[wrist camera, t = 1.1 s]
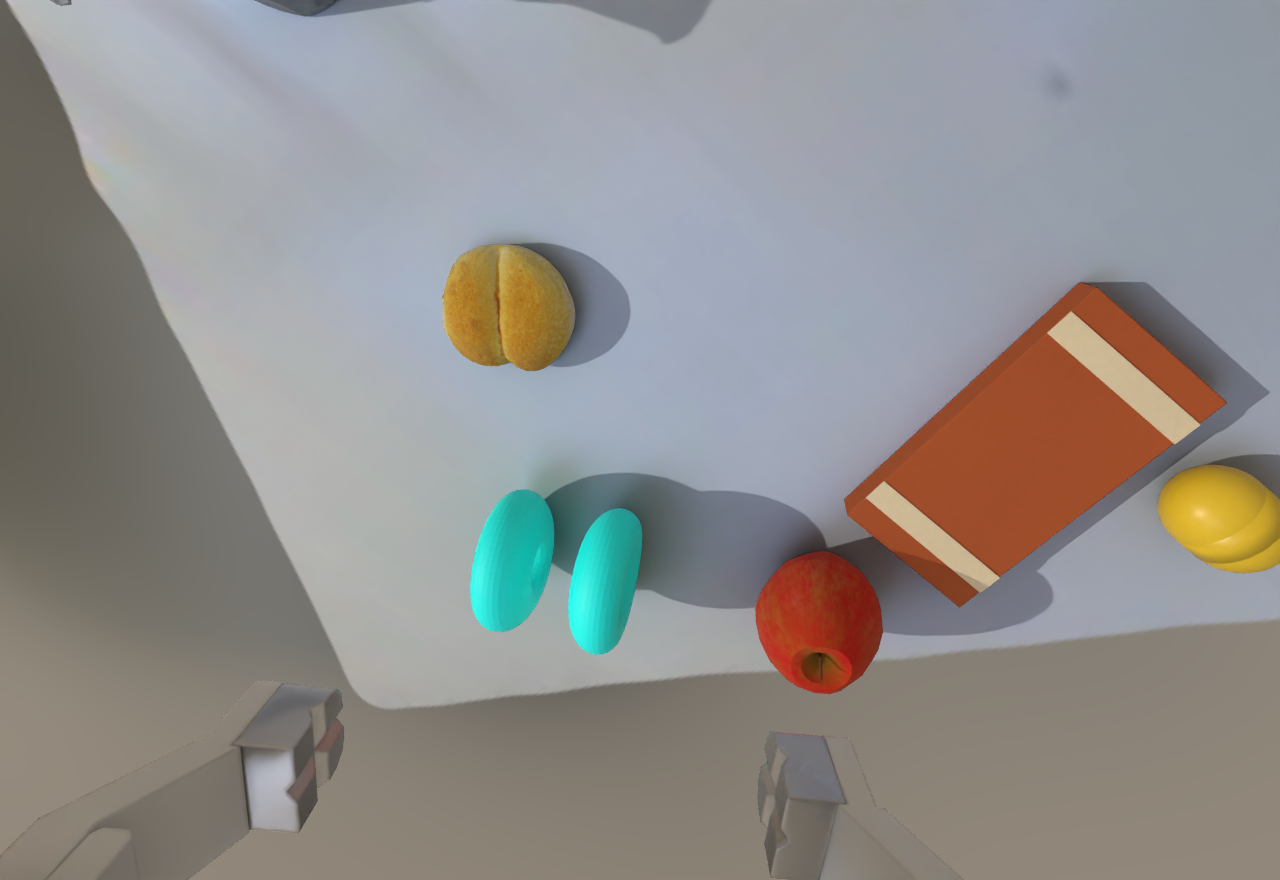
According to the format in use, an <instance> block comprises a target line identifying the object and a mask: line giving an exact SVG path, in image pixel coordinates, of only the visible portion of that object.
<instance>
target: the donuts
mask: <svg viewBox="0 0 1280 880" xmlns="http://www.w3.org/2000/svg"><path fill="white" fill-rule="evenodd" d="M553 550H554V522H553V518H552V514H551V511H550V509H549V507H548V505H547V503H546V502H545V500H544V499H543V498H542V497H541V496H540V495H538V494H537V493H535V492H533V491H530V490H517V491H514V492H511V493H509V494H508V495H506V496H505V497H503V498H502V499H501V500H500V501H499V502H498V504H497V505H496V506H495V508H494V509H493V510H492V512H491V514H490V516H489V517H488V519H487V521H486V524H485V526H484V528H483V530H482V533H481V536H480V539H479V542H478V545H477V548H476V552H475V556H474V561H473V566H472V573H471V584H470V594H471V604H472V609H473V612H474V614H475V616H476V618H477V620H478V621H479V623H480V624H481V625H482V626H484V627H485V628H487V629H489V630H491V631H495V632H504V631H509V630H511V629H513V628H515V627H517V626H518V625H520V624H521V623H522V622H524V621H525V620H526V619H527V617H528V616H529V615H530V614H531V613H532V611H533V610H534V608H535V607H536V605H537V603H538V601H539V599H540V597H541V595H542V592H543V590H544V587H545V585H546V582H547V578H548V575H549V571H550V567H551V562H552V557H553ZM641 552H642V527H641V524H640V521H639V519H638V518H637V517H636V515H635V514H633V513H632V512H631V511H629V510H627V509H622V508H616V509H612V510H609V511H607V512H605V513H603V514H602V515H601V516H599V517H598V518H597V519H596V520H595V522H594V523H593V524H592V525H591V527H590V528H589V530H588V531H587V533H586V535H585V537H584V539H583V542H582V544H581V547H580V549H579V552H578V556H577V559H576V562H575V566H574V570H573V575H572V580H571V586H570V593H569V605H568V613H569V623H570V628H571V631H572V634H573V637H574V638H575V640H576V642H577V643H578V645H579V646H580V647H581V648H582V649H583V650H585V651H586V652H588V653H591V654H596V655H598V654H604V653H607V652H609V651H610V650H612V649H613V648H614V647H615V646H616V645H617V644H618V642H619V640H620V639H621V636H622V634H623V632H624V629H625V626H626V623H627V620H628V616H629V613H630V609H631V606H632V601H633V597H634V593H635V588H636V583H637V578H638V572H639V566H640V560H641Z"/></svg>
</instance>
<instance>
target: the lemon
mask: <svg viewBox="0 0 1280 880" xmlns="http://www.w3.org/2000/svg"><path fill="white" fill-rule="evenodd" d="M1158 513H1159V517H1160V520H1161V522H1162V524H1163V526H1164V527H1165V529H1166V530H1167V531H1168V532H1169V533H1170V534H1171V535H1172V537H1173V538H1175V539H1176V540H1177V541H1178V542H1179V543H1180V544H1182V545H1183V546H1184V547H1185V548H1186V549H1187V550H1189V551H1190V552H1191V553H1192V554H1193V555H1194V556H1196V557H1197V558H1198V559H1200V560H1201V561H1203V562H1204V563H1206V564H1208V565H1210V566H1212V567H1215V568H1217V569H1220V570H1224V571H1229V572H1235V573H1253V572H1260V571H1263V570H1267V569H1269V568H1272V567H1274V566H1276V565H1278V564H1279V563H1280V499H1279V498H1278V497H1277V496H1276V495H1275V494H1274V493H1273V492H1271V491H1270V490H1269V489H1268V488H1267V487H1266V486H1265V485H1263V484H1262V483H1261V482H1260V481H1259V480H1257V479H1256V478H1255V477H1253V476H1252V475H1250V474H1248V473H1246V472H1244V471H1241V470H1239V469H1237V468H1233V467H1228V466H1223V465H1201V466H1196V467H1193V468H1189V469H1186V470H1184V471H1182V472H1180V473H1178V474H1177V475H1175V476H1174V477H1172V478H1171V479H1170V480H1169V481H1168V482H1167V483H1166V485H1165V486H1164V488H1163V489H1162V491H1161V493H1160V495H1159V500H1158Z"/></svg>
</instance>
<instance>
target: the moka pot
mask: <svg viewBox="0 0 1280 880" xmlns="http://www.w3.org/2000/svg"><path fill="white" fill-rule="evenodd" d="M51 1H52V2H54V3H56V4H58V5H61V6H63V5H71V0H51ZM255 1H257V2H260V3H262V4H264V5H267V6H270V7H272V8H275V9H278V10H281V11H284V12H288V13H292V14H296V15H301V16H311V15H313V14H316V13H318V12H320V11H322V10H324V9H326V8H327V7H329V6H330V5H331V4H332V3H334V2H335V1H336V0H255Z"/></svg>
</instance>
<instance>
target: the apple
mask: <svg viewBox="0 0 1280 880" xmlns="http://www.w3.org/2000/svg"><path fill="white" fill-rule="evenodd" d="M755 610H756V625H757V629H758V634H759V639H760V642H761V644H762V646H763V648H764V650H765V652H766V654H767V656H768V658H769V660H770V662H771V663H772V664H773V665H774V666H775V667H776V668H777V669H778V670H779V672H780V673H781V674H782V675H783V676H784V677H785V678H786V679H787V680H789V681H790V682H791V683H793V684H794V685H796V686H797V687H800V688H803V689H805V690H808V691H811V692H814V693H823V694H832V693H835V692H838V691H841V690H842V689H844V688H845V687H847V686H848V685H849V684H851V683H852V682H854V681H855V680H857V679H858V678H859V677H860V676H862V675H863V673H864V672H865V670H866V669H867V667H868V666H869V664H870V663H871V661H872V660H873V658H874V656H875V655H876V653H877V651H878V649H879V645H880V641H881V637H882V633H883V628H882V616H881V609H880V605H879V601H878V598H877V596H876V593H875V591H874V589H873V588H872V586H871V585H870V583H869V581H868V580H867V578H866V577H865V575H864V574H863V573H862V572H861V571H860V570H859V569H857V568H856V567H855V566H854V565H852V564H851V563H849V562H848V561H846V560H845V559H843V558H841V557H840V556H838V555H836V554H834V553H830V552H826V551H818V552H812V553H808V554H804V555H801V556H798V557H796V558H793V559H791V560H788V561H786V562H785V563H784V564H783V565H782V566H781V567H780V568H779V569H778V570H777V571H776V572H775V573H774V574H773V575H772V576H771V578H770V579H769V580H768V582H767V583H766V585H765V586H764V588H763V589H762V591H761V593H760V595H759V597H758V600H757V604H756V609H755Z"/></svg>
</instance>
